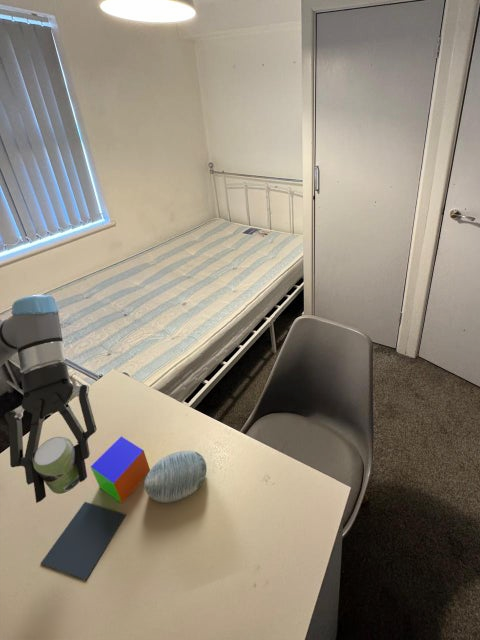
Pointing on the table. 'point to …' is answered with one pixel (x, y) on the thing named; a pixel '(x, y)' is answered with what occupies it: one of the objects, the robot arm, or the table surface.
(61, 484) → the beverage can
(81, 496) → the table surface
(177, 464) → the grey yarn skein
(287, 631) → the table surface
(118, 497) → the cube
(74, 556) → the pad
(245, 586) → the table surface
